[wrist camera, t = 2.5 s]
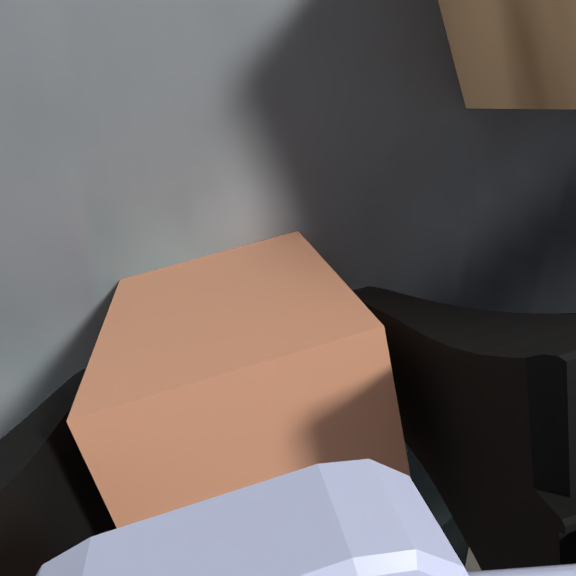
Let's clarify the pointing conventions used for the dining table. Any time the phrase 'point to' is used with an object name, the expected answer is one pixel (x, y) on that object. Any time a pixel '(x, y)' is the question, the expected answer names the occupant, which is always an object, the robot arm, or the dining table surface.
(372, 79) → the dining table surface
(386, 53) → the dining table surface
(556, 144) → the dining table surface
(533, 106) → the oak cube
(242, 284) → the terracotta block
